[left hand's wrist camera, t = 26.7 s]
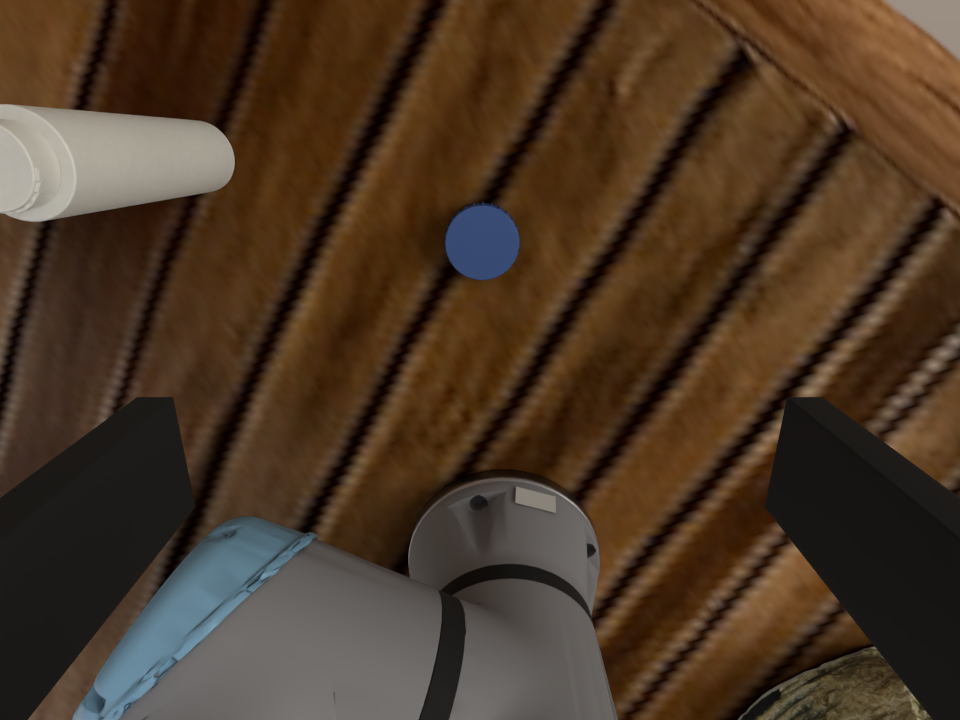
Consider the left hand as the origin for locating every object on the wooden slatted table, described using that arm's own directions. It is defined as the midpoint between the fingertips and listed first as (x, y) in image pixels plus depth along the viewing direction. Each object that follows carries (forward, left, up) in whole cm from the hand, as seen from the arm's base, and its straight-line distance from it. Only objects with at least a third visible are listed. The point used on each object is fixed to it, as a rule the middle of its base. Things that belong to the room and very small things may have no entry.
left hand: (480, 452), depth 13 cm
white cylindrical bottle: (-3, +18, -28) cm, 34 cm away
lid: (0, 0, -27) cm, 27 cm away
